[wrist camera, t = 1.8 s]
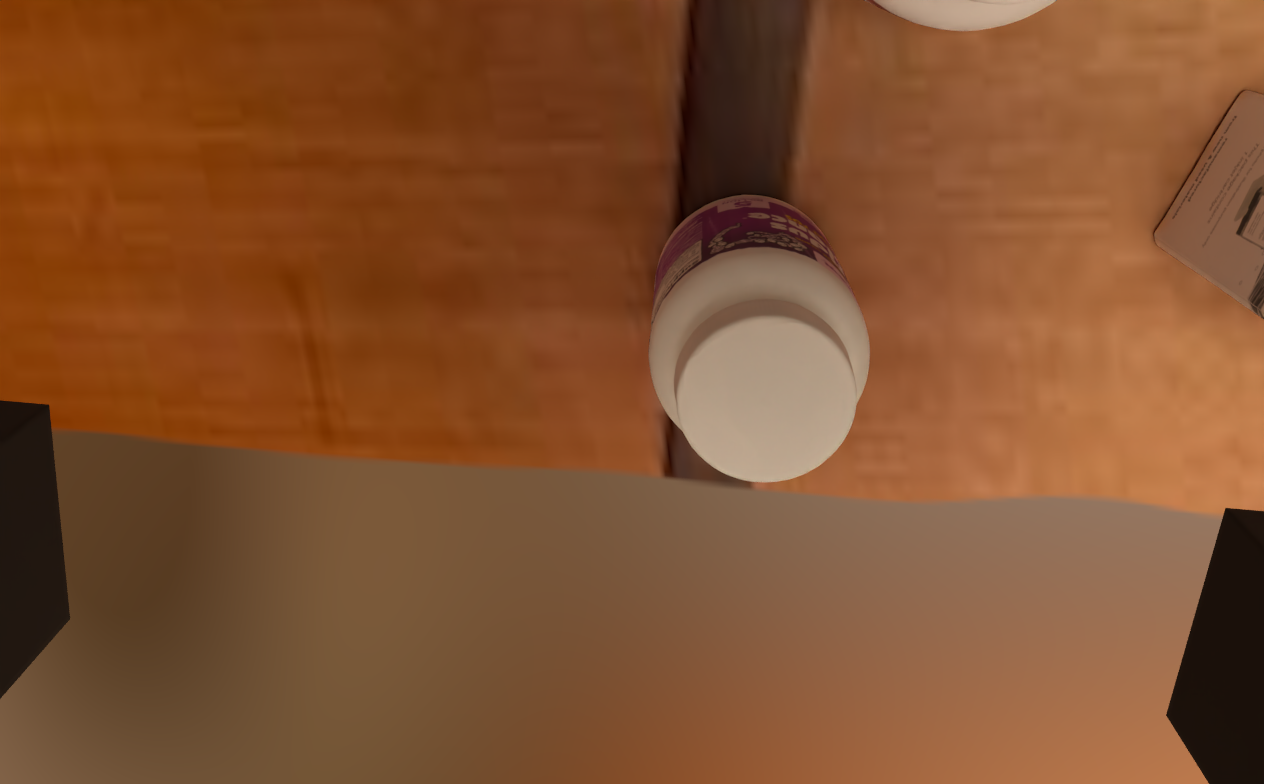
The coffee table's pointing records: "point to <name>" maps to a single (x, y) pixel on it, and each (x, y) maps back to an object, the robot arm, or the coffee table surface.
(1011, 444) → the coffee table surface
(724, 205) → the pill bottle
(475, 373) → the coffee table surface
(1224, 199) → the ink box
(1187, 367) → the coffee table surface
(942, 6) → the pill bottle
